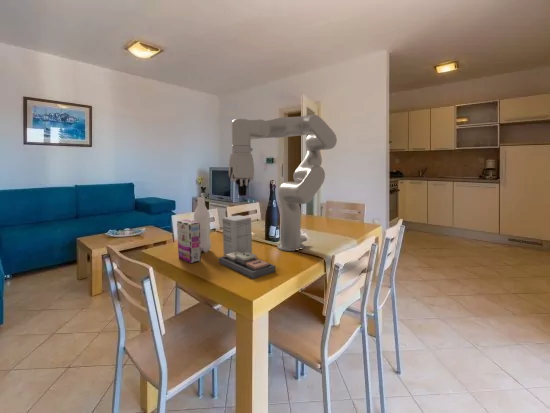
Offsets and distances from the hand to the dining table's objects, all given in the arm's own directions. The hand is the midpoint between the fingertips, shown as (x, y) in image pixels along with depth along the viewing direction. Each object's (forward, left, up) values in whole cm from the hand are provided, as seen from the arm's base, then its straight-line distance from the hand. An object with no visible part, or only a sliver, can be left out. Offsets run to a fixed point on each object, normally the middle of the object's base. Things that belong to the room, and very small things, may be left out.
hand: (242, 195), depth 126 cm
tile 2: (+6, +10, -25) cm, 27 cm away
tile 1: (+6, +3, -26) cm, 27 cm away
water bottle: (+8, -21, -27) cm, 35 cm away
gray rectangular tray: (+6, +10, -27) cm, 30 cm away
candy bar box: (+18, -14, -27) cm, 36 cm away
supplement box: (-1, -6, -27) cm, 28 cm away
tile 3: (+6, +17, -26) cm, 32 cm away
